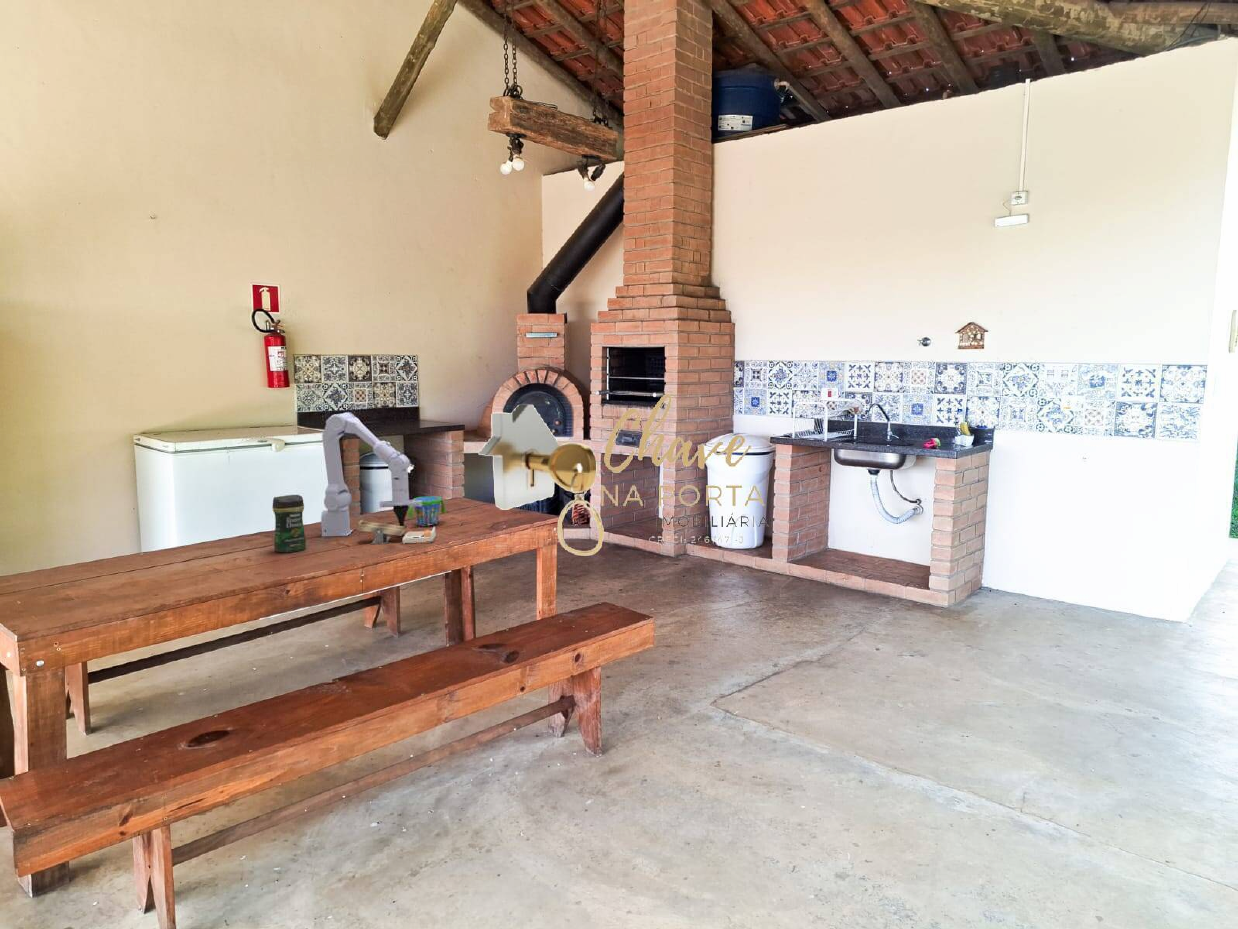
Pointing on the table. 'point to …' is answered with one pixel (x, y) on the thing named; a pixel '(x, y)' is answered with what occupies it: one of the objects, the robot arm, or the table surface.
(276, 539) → the coffee jar
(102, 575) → the table surface
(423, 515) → the snack cup
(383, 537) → the stand
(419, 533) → the dish
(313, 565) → the table surface
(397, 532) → the lever
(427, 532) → the ball
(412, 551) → the table surface
